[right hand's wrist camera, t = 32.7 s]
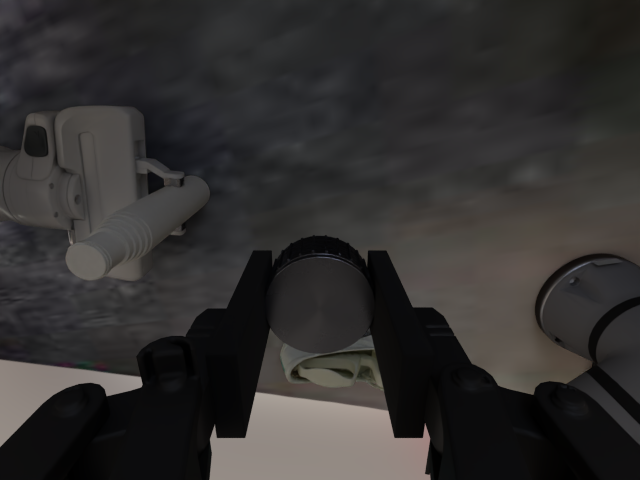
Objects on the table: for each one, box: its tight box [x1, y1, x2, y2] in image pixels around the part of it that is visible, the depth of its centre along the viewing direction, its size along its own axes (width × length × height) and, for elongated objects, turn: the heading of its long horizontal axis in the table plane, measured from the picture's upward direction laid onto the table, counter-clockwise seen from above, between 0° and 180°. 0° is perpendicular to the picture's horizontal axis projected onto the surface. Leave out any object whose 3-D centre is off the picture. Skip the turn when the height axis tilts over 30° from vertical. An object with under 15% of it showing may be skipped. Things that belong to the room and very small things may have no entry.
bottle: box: [66, 175, 210, 280], centre depth 36 cm, size 4×4×23 cm
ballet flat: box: [280, 335, 384, 391], centre depth 51 cm, size 8×24×8 cm, turn 89°
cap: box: [265, 235, 375, 354], centre depth 14 cm, size 4×4×2 cm
